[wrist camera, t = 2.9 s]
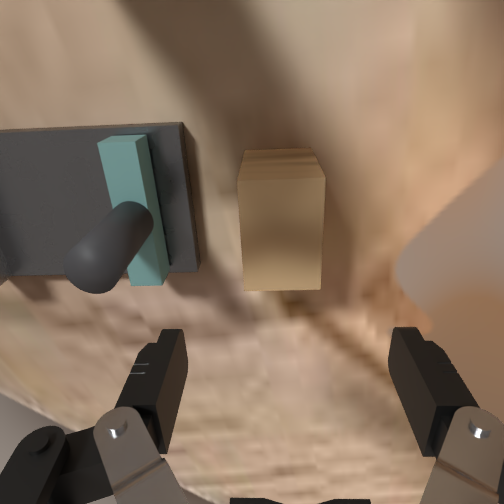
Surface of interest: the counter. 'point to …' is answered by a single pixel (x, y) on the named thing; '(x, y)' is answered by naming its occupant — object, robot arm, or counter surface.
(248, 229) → the block
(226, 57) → the counter surface
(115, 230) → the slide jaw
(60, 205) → the vise
